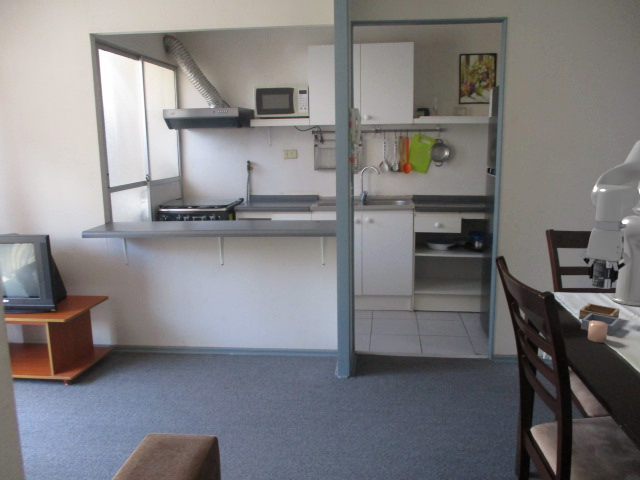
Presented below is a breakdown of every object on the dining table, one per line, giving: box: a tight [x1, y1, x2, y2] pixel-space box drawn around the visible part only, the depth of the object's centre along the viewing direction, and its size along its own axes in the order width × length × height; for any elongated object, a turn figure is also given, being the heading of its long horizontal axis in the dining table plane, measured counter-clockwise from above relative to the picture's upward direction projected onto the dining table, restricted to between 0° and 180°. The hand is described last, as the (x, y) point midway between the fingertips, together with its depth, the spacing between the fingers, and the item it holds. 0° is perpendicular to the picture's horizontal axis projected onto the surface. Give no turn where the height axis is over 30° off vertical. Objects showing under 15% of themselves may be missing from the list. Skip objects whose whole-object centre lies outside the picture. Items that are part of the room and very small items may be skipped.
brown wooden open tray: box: [578, 302, 620, 320], centre depth 181 cm, size 10×10×3 cm
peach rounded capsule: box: [587, 321, 608, 343], centre depth 163 cm, size 5×5×5 cm
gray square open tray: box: [580, 313, 621, 336], centre depth 172 cm, size 9×9×3 cm
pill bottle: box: [591, 259, 614, 290], centre depth 178 cm, size 6×6×11 cm
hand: (602, 279), depth 178 cm, fingers closed on pill bottle, 6 cm apart
